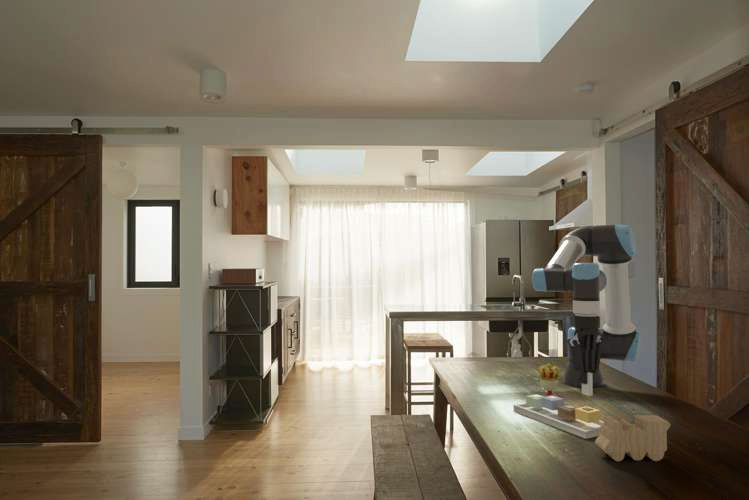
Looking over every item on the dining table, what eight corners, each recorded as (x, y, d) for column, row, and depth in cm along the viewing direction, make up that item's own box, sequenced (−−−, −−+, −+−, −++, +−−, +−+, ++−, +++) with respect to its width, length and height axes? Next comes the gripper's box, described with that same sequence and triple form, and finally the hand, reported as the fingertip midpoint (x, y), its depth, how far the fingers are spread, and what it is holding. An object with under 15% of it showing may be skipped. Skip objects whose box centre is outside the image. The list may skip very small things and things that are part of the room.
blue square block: (552, 404, 171) (552, 394, 171) (563, 408, 166) (563, 398, 166) (541, 406, 169) (541, 396, 169) (552, 410, 164) (552, 400, 164)
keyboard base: (540, 406, 180) (540, 400, 180) (614, 432, 154) (614, 425, 154) (513, 410, 175) (513, 404, 175) (585, 438, 148) (585, 431, 148)
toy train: (595, 453, 137) (594, 415, 138) (658, 452, 138) (658, 414, 138) (604, 462, 132) (604, 422, 132) (671, 460, 132) (670, 421, 132)
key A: (587, 416, 158) (586, 405, 158) (600, 420, 154) (599, 409, 154) (575, 418, 156) (575, 407, 156) (588, 423, 152) (588, 412, 152)
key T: (569, 414, 164) (569, 403, 164) (581, 418, 160) (581, 407, 160) (557, 416, 162) (557, 405, 162) (569, 420, 158) (569, 410, 158)
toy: (561, 405, 181) (561, 361, 182) (540, 404, 183) (539, 361, 183) (558, 399, 188) (558, 357, 189) (537, 398, 190) (537, 357, 190)
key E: (537, 402, 177) (537, 393, 177) (547, 406, 173) (547, 396, 173) (526, 404, 175) (526, 395, 175) (536, 408, 171) (536, 398, 171)
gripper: (591, 312, 161) (592, 389, 161) (560, 314, 156) (561, 394, 155) (612, 314, 155) (613, 394, 154) (580, 317, 149) (581, 400, 149)
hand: (587, 394), depth 155 cm, fingers closed
